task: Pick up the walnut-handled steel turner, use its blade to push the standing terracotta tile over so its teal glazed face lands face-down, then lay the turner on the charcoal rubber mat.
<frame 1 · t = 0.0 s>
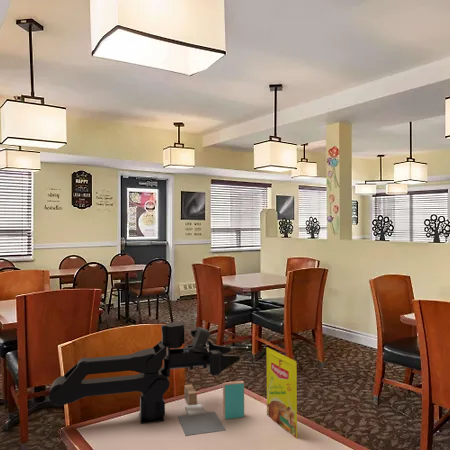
hand: (235, 353, 130), 17 cm above the table, tool horizontal, fingers open, 9 cm apart
tile: (233, 417, 123), on the table
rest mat: (201, 423, 119), on the table
food package: (281, 426, 118), on the table
turner: (193, 406, 130), on the table, touching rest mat
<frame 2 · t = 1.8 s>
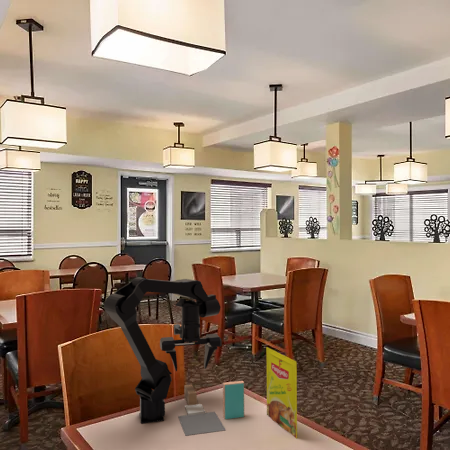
hand: (190, 369, 133), 11 cm above the table, tool pointing down, fingers open, 9 cm apart
nothing on the table moved.
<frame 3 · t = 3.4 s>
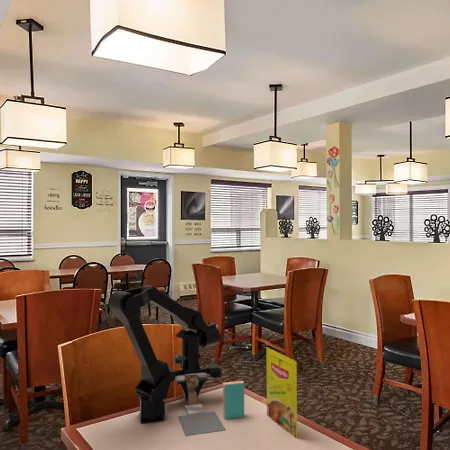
hand: (191, 400, 133), 1 cm above the table, tool pointing down, fingers closed on turner, 2 cm apart
turner: (193, 406, 130), on the table, touching gripper, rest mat
everything else where it was.
when the fingers open (2 cm above the table, at t = 11.6 s): turner drops 1 cm, resting on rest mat.
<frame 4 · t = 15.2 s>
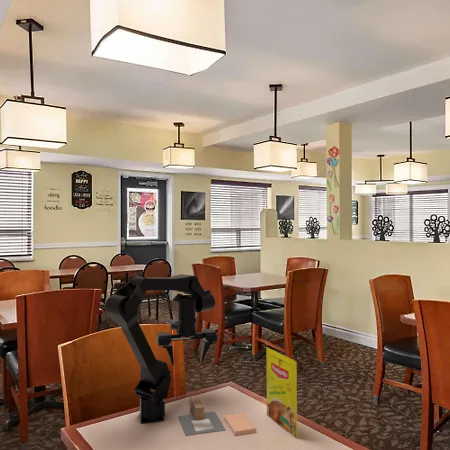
hand: (187, 364, 134), 12 cm above the table, tool pointing down, fingers open, 9 cm apart
tile: (233, 416, 122), on the table, tilted 90°
turner: (199, 422, 120), resting on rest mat
everything else where it was.
at the end: tile tilted 90°; turner inside the target area (0.2 cm from its centre), resting on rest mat; the gripper is holding nothing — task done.
